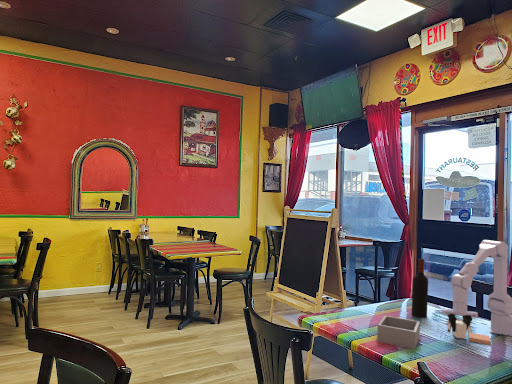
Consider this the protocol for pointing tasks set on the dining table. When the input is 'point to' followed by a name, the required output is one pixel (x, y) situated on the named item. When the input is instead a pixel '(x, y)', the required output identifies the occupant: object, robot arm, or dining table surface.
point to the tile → (479, 338)
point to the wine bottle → (420, 292)
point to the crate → (398, 332)
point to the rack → (462, 321)
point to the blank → (460, 329)
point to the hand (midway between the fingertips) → (459, 331)
